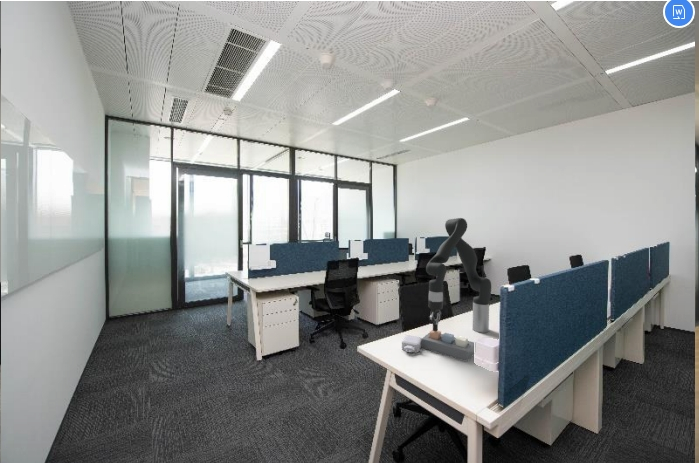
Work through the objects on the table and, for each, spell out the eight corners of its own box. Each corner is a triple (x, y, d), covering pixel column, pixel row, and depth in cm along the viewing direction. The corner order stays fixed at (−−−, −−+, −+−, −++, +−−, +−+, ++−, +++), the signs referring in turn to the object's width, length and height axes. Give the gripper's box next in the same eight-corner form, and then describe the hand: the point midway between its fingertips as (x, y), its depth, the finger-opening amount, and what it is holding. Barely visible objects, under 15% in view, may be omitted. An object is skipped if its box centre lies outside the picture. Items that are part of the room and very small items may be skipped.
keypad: (431, 339, 164) (431, 331, 164) (475, 352, 149) (475, 342, 148) (421, 347, 154) (421, 338, 153) (467, 361, 139) (467, 351, 138)
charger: (399, 354, 146) (405, 343, 160) (417, 358, 143) (422, 345, 157) (399, 345, 146) (405, 334, 160) (417, 348, 143) (422, 337, 156)
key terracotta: (432, 338, 159) (432, 329, 158) (440, 340, 156) (441, 331, 156) (429, 341, 155) (429, 332, 155) (437, 343, 152) (437, 334, 152)
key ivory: (458, 345, 150) (458, 335, 150) (467, 347, 147) (467, 338, 147) (455, 348, 146) (455, 338, 146) (464, 350, 143) (464, 341, 143)
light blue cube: (445, 341, 154) (445, 332, 154) (453, 344, 151) (453, 334, 151) (442, 344, 151) (442, 335, 150) (450, 347, 148) (450, 337, 148)
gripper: (433, 295, 162) (433, 325, 163) (423, 300, 152) (423, 332, 152) (446, 297, 157) (446, 328, 158) (437, 303, 147) (437, 336, 148)
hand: (435, 330), depth 155 cm, fingers closed
